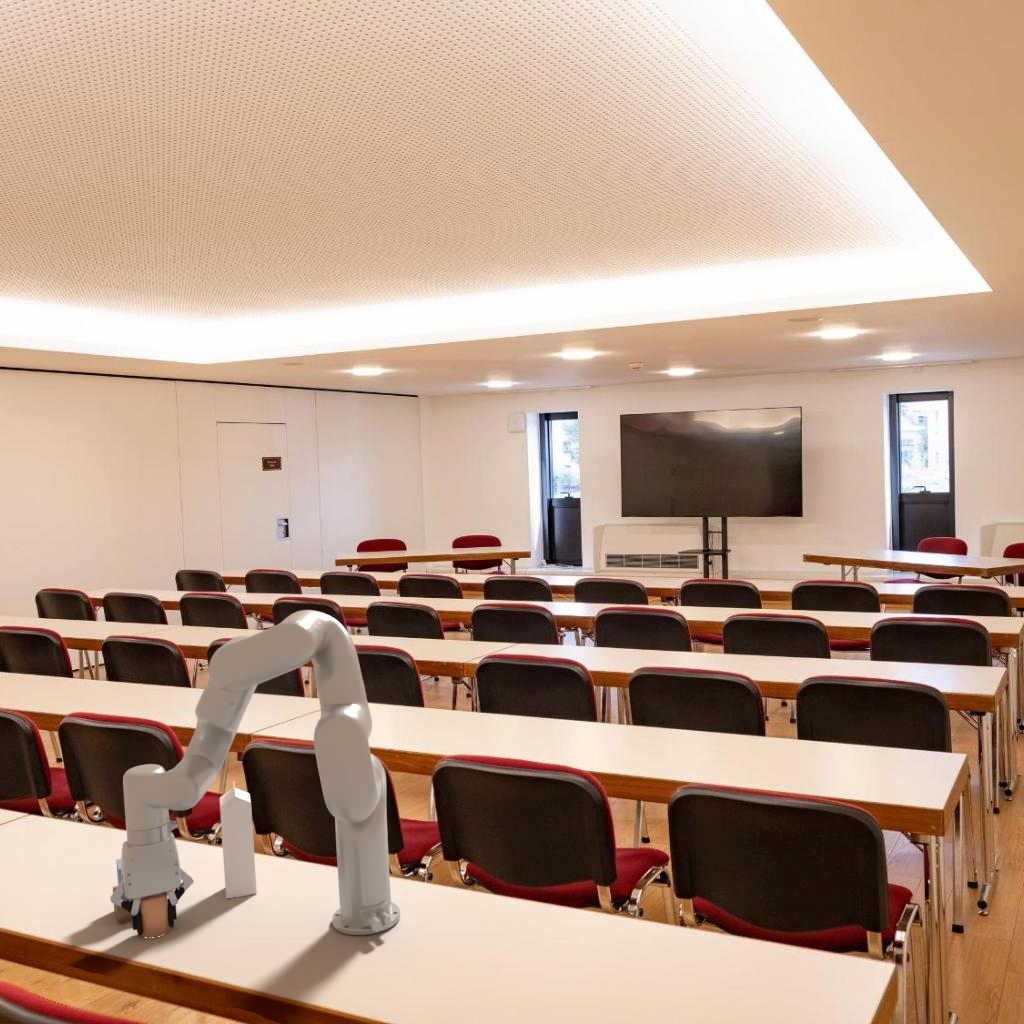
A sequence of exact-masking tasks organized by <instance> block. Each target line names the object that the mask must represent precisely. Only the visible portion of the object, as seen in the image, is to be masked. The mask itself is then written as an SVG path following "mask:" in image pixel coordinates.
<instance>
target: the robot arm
mask: <svg viewBox="0 0 1024 1024" xmlns="http://www.w3.org/2000/svg"><path fill="white" fill-rule="evenodd" d="M310 661H311V663H312V665H313V671H314V679H315V686H316V690H317V694H318V700H319V707H320V718H319V719H318V721H317V723H316V725H315V727H314V732H313V746H314V747H313V748H314V754H315V758H316V763H317V768H318V775H319V779H320V780H319V781H320V784H321V789H322V794H323V799H324V802H325V805H326V808H327V810H328V811H329V813H330V814H331V816H333V817H334V821H335V822H334V823H335V824H334V825H335V826H334V827H335V843H336V845H335V846H336V860H337V861H336V862H337V876H338V877H337V879H338V895H339V908H338V909H337V910H336V911H335V912H334V913H333V915H332V917H331V919H332V920H331V922H332V926H333V929H335V930H336V931H337V932H338V933H339V932H340V933H342V934H345V935H349V936H366V935H367V936H368V935H374V934H377V933H380V932H384V931H386V930H389V929H390V928H392V927H393V926H394V925H396V924H397V923H398V922H399V920H400V918H401V909H400V907H399V905H397V904H396V903H394V902H392V897H391V893H392V892H391V879H390V877H391V876H390V861H389V860H390V859H389V858H390V857H389V843H388V841H389V840H388V837H389V835H388V819H387V818H388V817H387V813H388V812H387V776H386V775H387V774H386V770H385V768H384V766H383V763H382V762H381V761H380V759H379V758H378V757H377V756H376V755H374V754H373V753H371V748H370V742H369V738H370V736H371V733H372V730H373V719H372V715H371V712H370V707H369V702H368V699H367V693H366V687H365V683H364V679H363V676H362V671H361V666H360V661H359V656H358V653H357V650H356V646H355V644H354V641H353V638H352V637H351V634H350V633H349V632H348V630H347V629H346V627H345V626H344V625H343V624H342V623H341V622H340V621H338V620H337V619H336V618H335V617H332V616H331V615H329V614H326V613H325V612H322V611H318V610H315V609H314V610H312V609H303V610H298V611H295V612H294V613H291V614H290V615H288V616H287V617H285V619H283V620H282V621H281V622H280V623H277V624H276V625H274V626H271V627H269V628H267V629H264V630H262V631H260V632H257V633H255V634H253V635H251V636H249V635H241V636H235V637H234V638H231V639H230V640H228V641H227V642H225V643H224V644H223V645H221V646H220V647H219V648H217V649H216V651H214V653H213V655H212V657H211V658H210V661H209V664H208V665H209V666H208V670H209V671H208V673H209V678H208V680H207V682H206V685H205V687H204V689H203V691H202V694H201V695H200V697H199V700H198V701H197V704H196V707H195V710H194V713H195V716H196V719H197V722H196V726H195V729H194V731H193V736H192V737H191V740H190V742H189V744H188V747H187V748H186V751H185V753H183V756H182V758H181V760H180V761H179V762H178V763H177V764H176V765H175V766H174V767H173V768H172V769H169V770H165V768H164V767H163V766H162V765H159V764H155V763H154V764H153V763H148V764H140V765H136V766H133V767H131V768H129V769H128V770H126V771H125V773H124V775H123V777H122V787H123V789H122V790H123V802H124V815H125V828H126V829H125V830H126V841H124V842H123V843H122V848H121V858H120V859H121V882H120V883H119V885H118V884H117V885H116V886H117V888H116V889H115V891H114V892H113V891H112V894H111V895H110V898H109V900H110V902H111V903H112V904H113V905H114V904H116V905H118V906H121V907H122V908H123V909H125V910H127V911H128V912H130V913H131V914H132V922H131V927H132V930H133V931H136V932H137V936H141V935H142V934H143V933H142V919H141V913H140V910H139V905H140V901H141V898H143V897H148V896H152V895H156V894H160V893H164V892H167V899H168V914H169V928H174V927H175V921H176V920H177V919H178V916H177V915H178V914H177V904H178V902H179V900H180V899H181V898H182V897H183V896H184V894H185V892H186V891H187V890H188V889H190V887H191V886H192V884H194V882H195V881H194V879H193V877H192V876H190V875H189V874H188V873H187V872H186V871H185V870H183V869H182V868H181V864H180V859H179V852H178V848H177V843H176V839H175V835H174V832H173V830H175V829H178V828H179V826H178V825H179V824H178V821H177V820H174V821H173V820H171V819H170V814H169V812H170V811H171V810H172V811H186V810H189V809H191V808H193V807H194V806H196V805H197V804H198V803H199V801H200V800H201V799H202V798H203V797H204V795H205V794H206V793H207V792H208V791H209V790H210V789H211V787H212V786H213V785H214V783H215V781H216V779H217V777H218V775H219V773H220V770H221V769H222V767H223V764H224V762H225V760H226V758H227V756H228V753H229V751H230V749H231V747H232V745H233V741H234V739H235V737H236V734H238V733H237V732H238V731H239V727H240V724H241V722H242V720H243V718H244V716H245V713H246V711H247V708H248V706H249V704H250V702H251V701H252V697H253V695H254V693H255V691H256V689H257V686H258V685H261V684H262V683H265V682H267V681H269V680H272V679H274V678H277V677H280V676H281V675H285V674H287V673H289V672H291V671H293V670H296V669H298V668H301V667H302V666H304V665H306V664H308V663H309V662H310ZM169 810H170V811H169ZM123 892H125V897H126V898H127V899H131V900H130V901H128V900H127V899H124V898H122V897H121V895H122V894H123Z"/></svg>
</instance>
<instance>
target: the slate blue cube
mask: <svg viewBox="0 0 1024 1024" xmlns="http://www.w3.org/2000/svg"><path fill="white" fill-rule="evenodd" d="M115 861H116V873H117V886H118V885H119V883H120V882H121V858H117V859H116V860H115ZM121 897H125V892H123V894H122V895H121Z"/></svg>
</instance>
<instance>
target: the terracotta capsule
mask: <svg viewBox="0 0 1024 1024" xmlns="http://www.w3.org/2000/svg"><path fill="white" fill-rule="evenodd" d="M139 910H140V913H141V919H142V933H143V934H142V936H143V937H147V938H150V937H151V938H152V937H158V936H161V935H163V934H166V933H167V932H168V933H170V929H171V927H170V926H169V914H168V895H167V892H164V893H160V894H156V895H152V896H148V897H143V898H141V901H140V905H139ZM168 933H167V934H168ZM167 934H166V935H167ZM142 936H141V937H142ZM143 937H142V938H143Z"/></svg>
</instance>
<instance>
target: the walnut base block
mask: <svg viewBox="0 0 1024 1024" xmlns="http://www.w3.org/2000/svg"><path fill="white" fill-rule="evenodd" d="M117 886H118V885H116V886H112V893H113V892H114V891H115V889H116V888H117ZM122 898H124V899H127V898H126V897H122ZM127 900H128V901H130V900H131V899H127ZM113 910H114V911H113V912H114V914H116V915H115V918H116V917H117V918H116V921H117V920H118V921H117V924H118V925H119V924H121V925H125V924H127V923H126V922H129V923H132V922H131V921H132V914H131V913H130V912H128V911H127V910H125V909H123V908H122V907H121V906H118V905H116V904H114V903H113ZM124 923H125V924H124Z"/></svg>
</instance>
